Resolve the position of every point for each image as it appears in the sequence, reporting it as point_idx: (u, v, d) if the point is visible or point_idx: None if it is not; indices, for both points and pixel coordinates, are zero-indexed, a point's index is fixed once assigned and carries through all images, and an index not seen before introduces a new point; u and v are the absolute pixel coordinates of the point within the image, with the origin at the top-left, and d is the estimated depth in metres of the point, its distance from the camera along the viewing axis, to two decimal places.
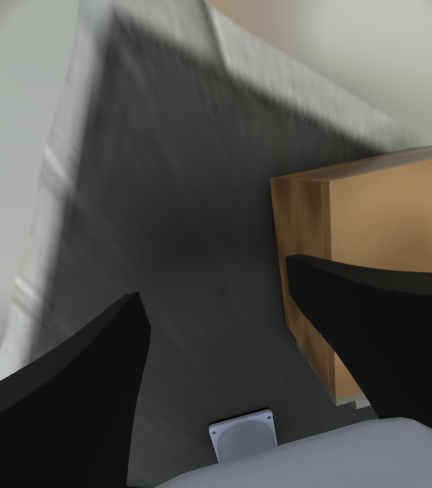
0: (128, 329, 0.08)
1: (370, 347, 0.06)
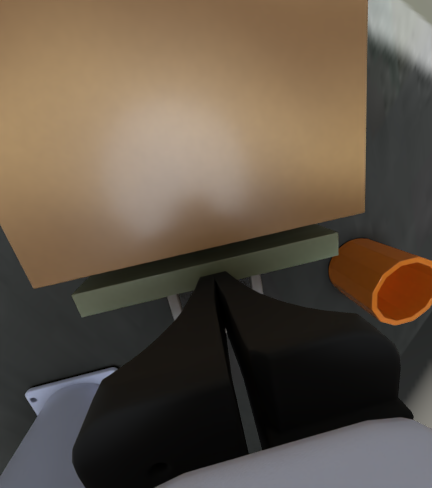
0: (218, 307, 0.09)
1: (247, 380, 0.06)
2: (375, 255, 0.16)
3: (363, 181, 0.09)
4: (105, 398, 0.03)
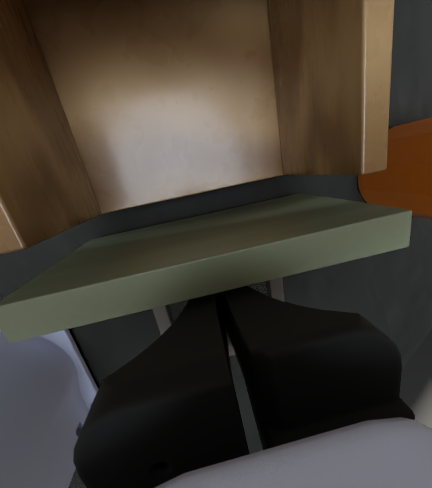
0: (219, 307, 0.09)
1: (247, 380, 0.06)
2: None
3: None
4: (107, 396, 0.03)
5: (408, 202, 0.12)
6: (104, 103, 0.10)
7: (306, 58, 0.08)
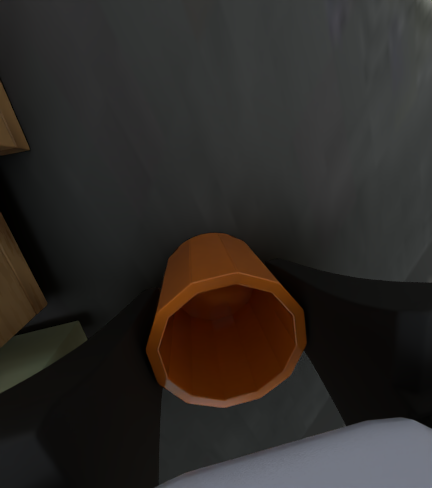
0: None
1: (336, 356, 0.06)
2: (184, 266, 0.08)
3: None
4: None
5: None
6: None
7: None
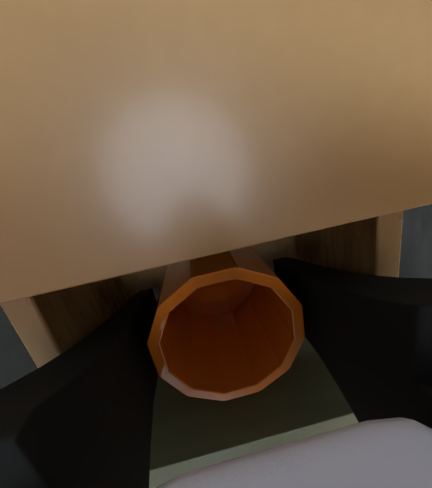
0: (145, 325, 0.08)
1: (349, 352, 0.06)
2: (184, 262, 0.08)
3: None
4: None
5: None
6: None
7: (325, 253, 0.09)
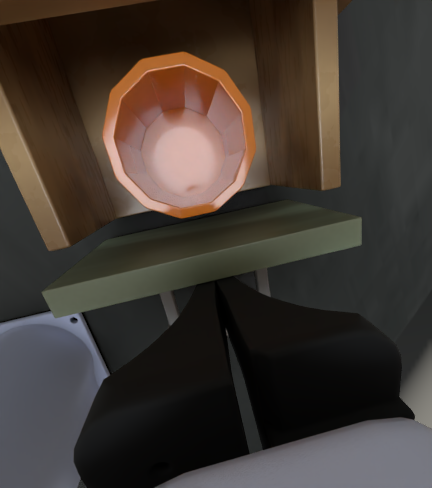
0: (219, 307, 0.09)
1: (247, 380, 0.06)
2: None
3: None
4: (106, 397, 0.03)
5: None
6: None
7: (283, 97, 0.10)
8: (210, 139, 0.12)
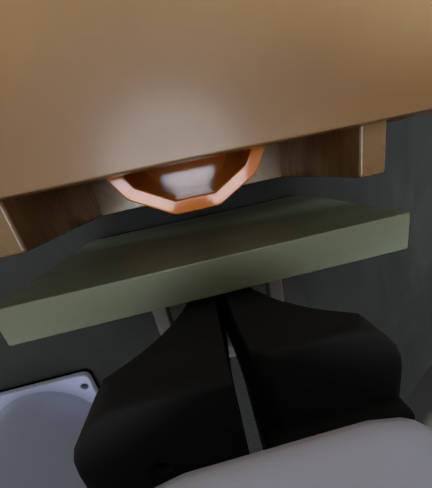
0: (219, 307, 0.09)
1: (247, 380, 0.06)
2: None
3: None
4: (106, 397, 0.03)
5: None
6: None
7: None
8: None
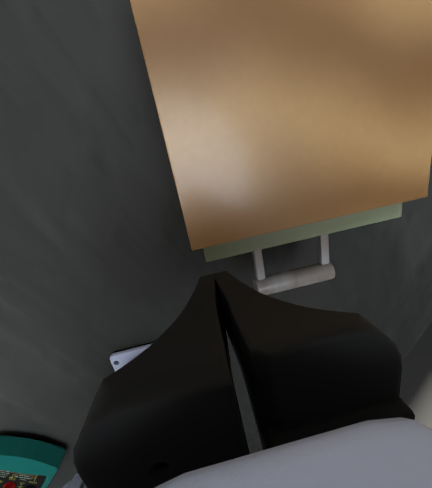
0: (219, 307, 0.09)
1: (247, 380, 0.06)
2: None
3: (428, 173, 0.12)
4: (106, 397, 0.03)
5: None
6: None
7: None
8: None
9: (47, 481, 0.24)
